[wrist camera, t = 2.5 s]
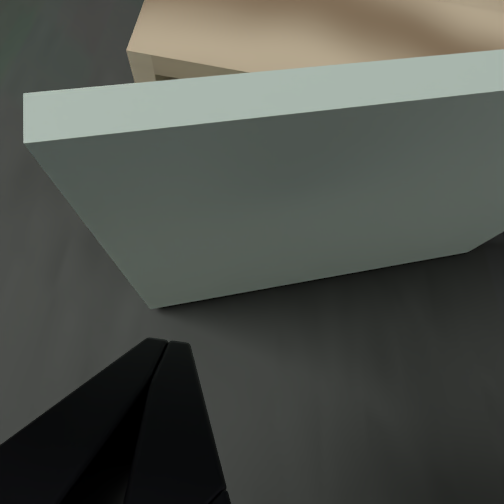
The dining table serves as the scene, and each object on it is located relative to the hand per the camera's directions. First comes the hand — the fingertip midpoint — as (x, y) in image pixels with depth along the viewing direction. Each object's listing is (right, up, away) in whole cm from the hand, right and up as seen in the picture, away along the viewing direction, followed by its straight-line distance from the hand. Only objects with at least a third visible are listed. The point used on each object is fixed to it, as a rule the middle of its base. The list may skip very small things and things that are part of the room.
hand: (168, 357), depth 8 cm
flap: (+5, +1, +11) cm, 12 cm away
